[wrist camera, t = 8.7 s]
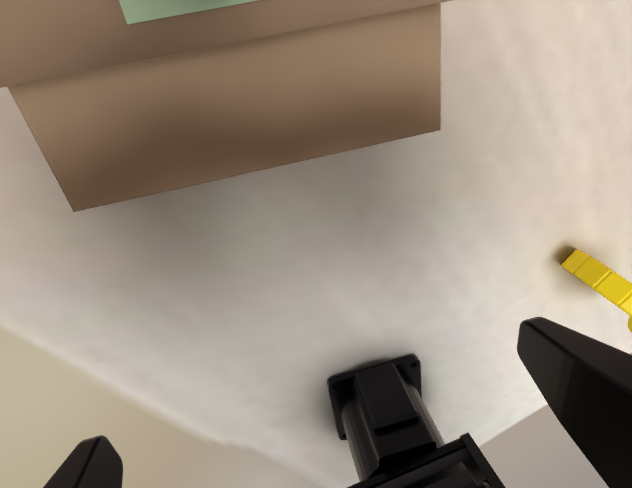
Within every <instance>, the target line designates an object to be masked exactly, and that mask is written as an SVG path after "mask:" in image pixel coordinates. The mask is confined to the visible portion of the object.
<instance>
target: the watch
mask: <svg viewBox="0 0 632 488" xmlns="http://www.w3.org/2000/svg"><path fill="white" fill-rule="evenodd" d="M561 265H562V267H564V268H565V269H566V270H568V271H569V272H571V273H572V274H573V275H575V276H576V277H577V278H579V279H580V280H582V281H583V282H584V283H586V284H587V285H589V286H590V287H591V288H593V289H594V290H595V291H597V292H598V293H600V294H601V295H602V296H604V297H605V298H607V299H608V300H609V301H611V302H612V303H613V304H615V305H616V306H618V307H619V308H620V309H622V310H623V311H625V312H626V313H627V314H629V315H630V317H629V320H628V328H629V330H630V331H631V332H632V283H630V282H629V281H627V280H626V279H624V278H623V277H621V276H620V275H618V274H617V273H616V272H614V271H612V270H611V269H610V268H608V267H606V266H605V265H603V264H602V263H600V262H599V261H597V260H596V259H594V258H592V257H591V256H589V255H587V254H586V253H584V252H582V251H581V250H575V251H574V252H573V253H572V254H571V255H570V256H569V257H568V258H567V259H566V260H565V261H564V262H563V263H562V264H561Z"/></svg>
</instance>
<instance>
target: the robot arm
mask: <svg viewBox="0 0 632 488" xmlns="http://www.w3.org/2000/svg"><path fill="white" fill-rule="evenodd" d="M517 351H518V355H519V357H520V359H521V361H522V362H523V364H524V365H525V367H526V369H527V370H528V372H529V374H530V375H531V377H532V378H533V380H534V382H535V383H536V385H537V387H538V388H539V390H540V391H541V393H542V395H543V396H544V398H545V400H546V401H547V403H548V404H549V406H550V408H551V409H552V411H553V412H554V414H555V415H556V417H557V419H558V420H559V421H560V423H561V424H562V426H563V427H564V428H565V430H566V431H567V432H568V434H569V435H570V436H571V438H572V439H573V440H574V442H575V443H576V444H577V446H578V447H579V448H580V450H581V451H582V452H583V454H584V455H585V456H586V458H587V459H588V460H589V461H590V463H591V464H592V465H593V467H594V468H595V470H596V471H597V472H598V473H599V475H600V476H601V477H602V479H603V480H604V481H605V483H606V484H607V485H608V486H609V488H632V355H631V354H628V353H626V352H623V351H621V350H619V349H616V348H614V347H612V346H609V345H607V344H605V343H602V342H600V341H597V340H595V339H593V338H590V337H588V336H586V335H583V334H581V333H579V332H576V331H574V330H571V329H569V328H567V327H564V326H562V325H560V324H557V323H555V322H553V321H550V320H548V319H545V318H543V317H535V318H531V319H527V320H524V321H522V323H521V324H520V328H519V336H518V344H517ZM327 385H328V390H329V394H330V399H331V404H332V408H333V413H334V417H335V422H336V427H337V431H338V435H339V438H340V439H341V440H348V443H349V447H350V450H351V453H352V457H353V460H354V464H355V467H356V470H357V474H358V477H359V481H360V482H359V483H356V484H354V485H352V486H350V487H347V488H505V486H504V485H503V483H502V482H501V481H500V479H499V478H498V476H497V475H496V473H495V472H494V470H493V469H492V467H491V466H490V464H489V463H488V461H487V460H486V458H485V457H484V455H483V454H482V452H481V451H480V449H479V448H478V446H477V445H476V443H475V442H474V440H473V439H472V437H471V436H470V434H469V433H466V434H463V435H461V436H460V438H459V439H456V440H454V441H452V442H450V443H447V444H445V443H444V441H443V439H442V437H441V435H440V433H439V431H438V429H437V427H436V425H435V423H434V422H433V420H432V418H431V416H430V414H429V412H428V410H427V408H426V406H425V404H424V402H423V400H422V398H421V370H420V361H419V359H418V358H417V357H416V356H414V355H412V356H408V357H404V358H401V359H397V360H393V361H390V362H386V363H383V364H379V365H375V366H372V367H368V368H365V369H361V370H357V371H354V372H350V373H346V374H343V375H339V376H336V377H332V378H330V379H329V380H328V382H327ZM122 478H123V464H122V460H121V457H120V456H119V454H118V453H117V452H116V450H115V449H114V447H113V446H112V444H111V443H110V441H109V440H108V439H107V437H105V436H103V435H100V436H96V437H93V438H89V439H85V440H83V441H82V442H80V443H79V444H78V445H77V446H76V448H75V449H74V450H73V451H72V452H71V454H70V455H69V456H68V457H67V459H66V460H65V461H64V462H63V464H62V465H61V466H60V467H59V469H58V470H57V471H56V473H55V474H54V475H53V476H52V477H51V478H50V480H49V481H48V482H47V483H46V484H45V486H44V487H43V488H122Z"/></svg>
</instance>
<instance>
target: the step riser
mask: <svg viewBox="0 0 632 488" xmlns="http://www.w3.org/2000/svg"><path fill="white" fill-rule="evenodd" d="M446 1H451V0H0V87H6V86H7V87H8V89H9V91H10V92H11V94H12V96H13V98H14V100H15V102H16V104H17V106H18V107H19V109H20V111H21V113H22V115H23V117H24V119H25V121H26V123H27V124H28V126H29V128H30V130H31V132H32V134H33V136H34V138H35V140H36V141H37V143H38V145H39V147H40V149H41V151H42V153H43V155H44V157H45V158H46V160H47V162H48V164H49V166H50V168H51V170H52V172H53V173H54V175H55V177H56V179H57V181H58V183H59V185H60V187H61V189H62V190H63V192H64V194H65V196H66V198H67V200H68V202H69V204H70V206H71V207H72V209H73V211H74V212H76V211H80V210H85V209H89V208H94V207H98V206H103V205H107V204H111V203H116V202H120V201H125V200H129V199H134V198H138V197H143V196H147V195H152V194H156V193H161V192H165V191H170V190H174V189H178V188H183V187H187V186H192V185H196V184H201V183H205V182H210V181H214V180H219V179H223V178H228V177H232V176H237V175H241V174H245V173H250V172H254V171H259V170H263V169H268V168H272V167H277V166H281V165H286V164H290V163H295V162H299V161H304V160H308V159H312V158H317V157H321V156H326V155H330V154H335V153H339V152H344V151H348V150H353V149H357V148H362V147H366V146H371V145H375V144H379V143H384V142H388V141H393V140H397V139H402V138H406V137H411V136H415V135H420V134H424V133H429V132H433V131H438V130H440V3H441V2H446Z"/></svg>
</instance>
